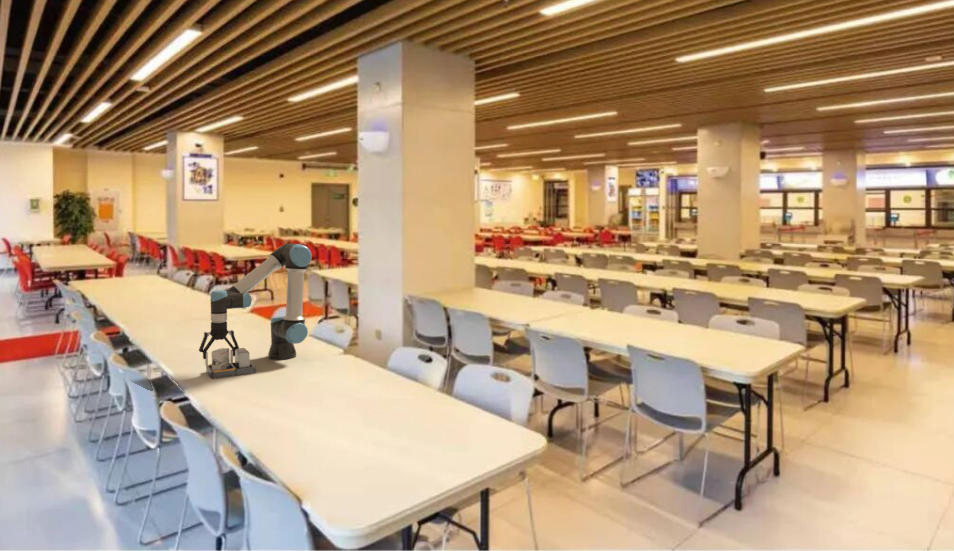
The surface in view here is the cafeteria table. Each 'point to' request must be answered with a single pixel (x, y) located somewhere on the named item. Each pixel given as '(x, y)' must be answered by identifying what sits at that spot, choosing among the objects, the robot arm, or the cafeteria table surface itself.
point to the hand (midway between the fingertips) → (219, 364)
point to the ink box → (220, 359)
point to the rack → (234, 366)
